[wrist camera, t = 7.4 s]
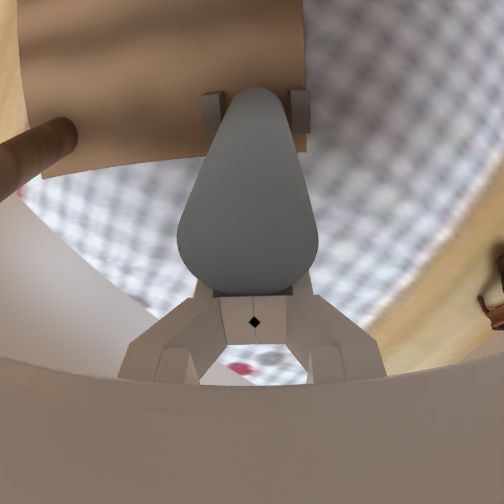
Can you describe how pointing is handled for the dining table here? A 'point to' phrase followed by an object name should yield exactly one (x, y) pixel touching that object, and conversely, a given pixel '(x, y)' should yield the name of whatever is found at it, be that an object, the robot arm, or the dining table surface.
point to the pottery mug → (500, 316)
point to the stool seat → (146, 79)
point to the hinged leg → (249, 204)
